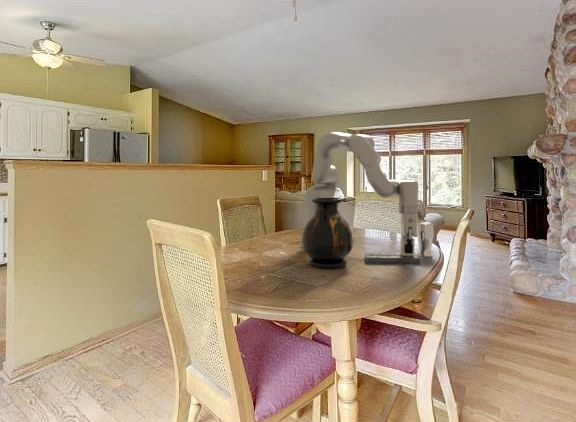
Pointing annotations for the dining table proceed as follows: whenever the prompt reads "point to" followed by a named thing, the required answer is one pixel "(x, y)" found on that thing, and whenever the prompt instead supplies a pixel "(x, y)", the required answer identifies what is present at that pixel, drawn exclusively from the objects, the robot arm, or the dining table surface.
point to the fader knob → (402, 248)
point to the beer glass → (425, 238)
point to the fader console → (391, 258)
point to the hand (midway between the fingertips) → (407, 251)
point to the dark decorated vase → (327, 235)
